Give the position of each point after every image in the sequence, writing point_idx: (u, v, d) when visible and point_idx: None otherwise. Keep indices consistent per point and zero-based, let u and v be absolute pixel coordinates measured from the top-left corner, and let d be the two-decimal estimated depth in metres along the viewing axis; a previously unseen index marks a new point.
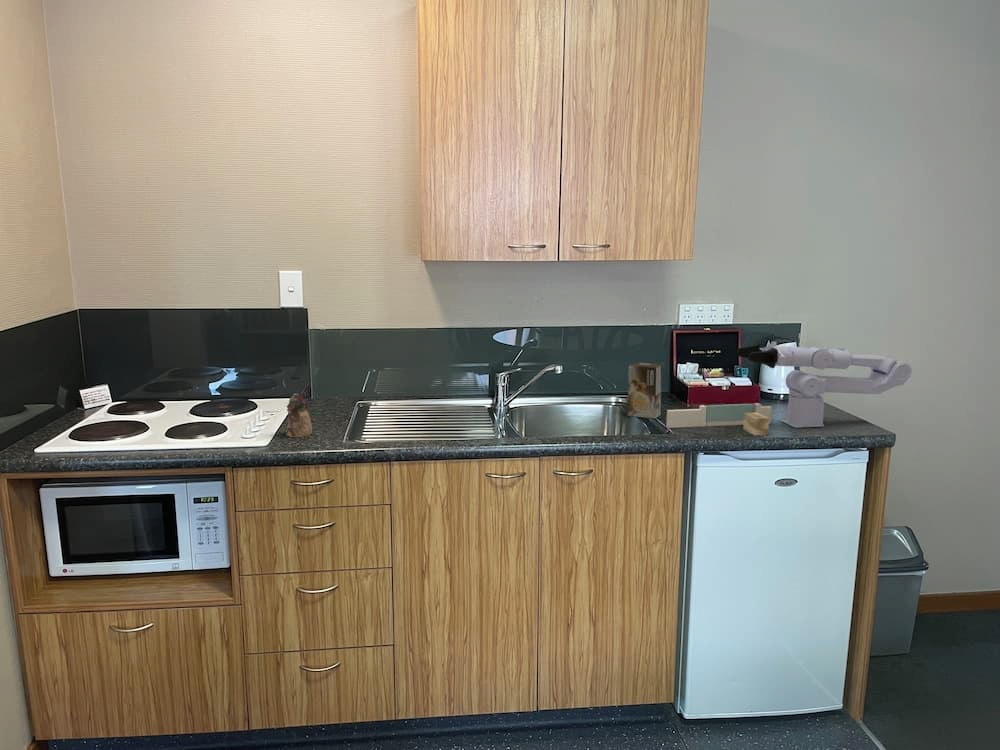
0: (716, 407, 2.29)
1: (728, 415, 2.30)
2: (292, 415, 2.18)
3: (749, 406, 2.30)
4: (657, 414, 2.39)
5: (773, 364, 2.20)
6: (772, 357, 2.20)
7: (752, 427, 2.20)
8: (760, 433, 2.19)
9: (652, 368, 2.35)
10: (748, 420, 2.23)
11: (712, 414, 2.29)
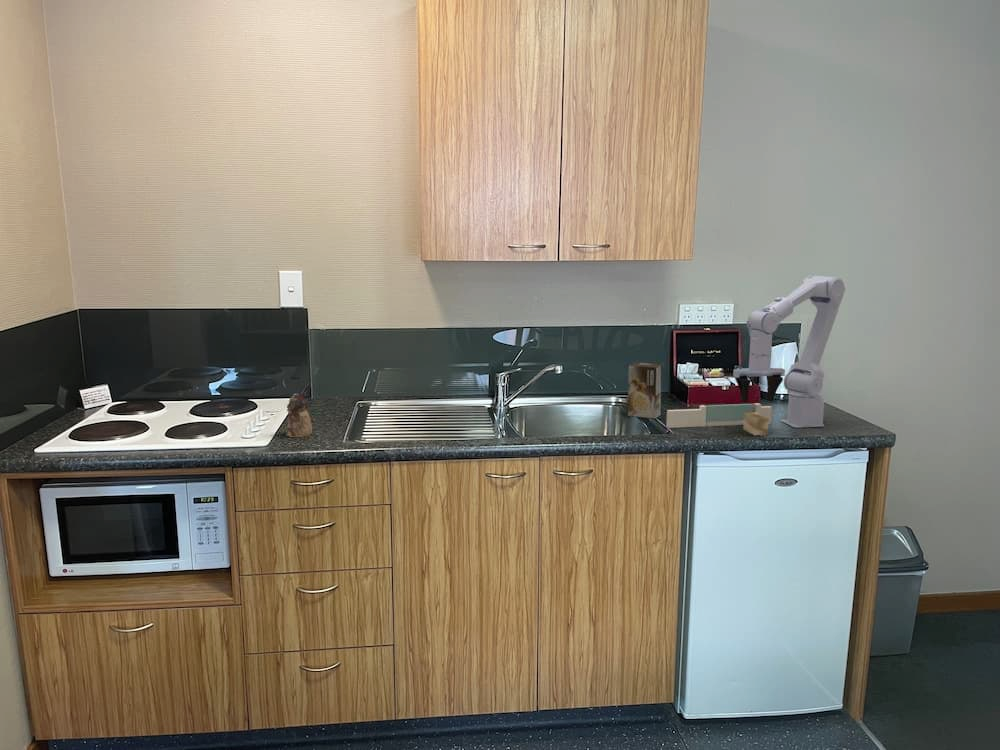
0: (716, 407, 2.29)
1: (728, 415, 2.30)
2: (292, 415, 2.18)
3: (749, 406, 2.30)
4: (657, 414, 2.39)
5: None
6: None
7: (752, 427, 2.20)
8: (760, 433, 2.19)
9: (652, 368, 2.35)
10: (748, 420, 2.23)
11: (712, 414, 2.29)
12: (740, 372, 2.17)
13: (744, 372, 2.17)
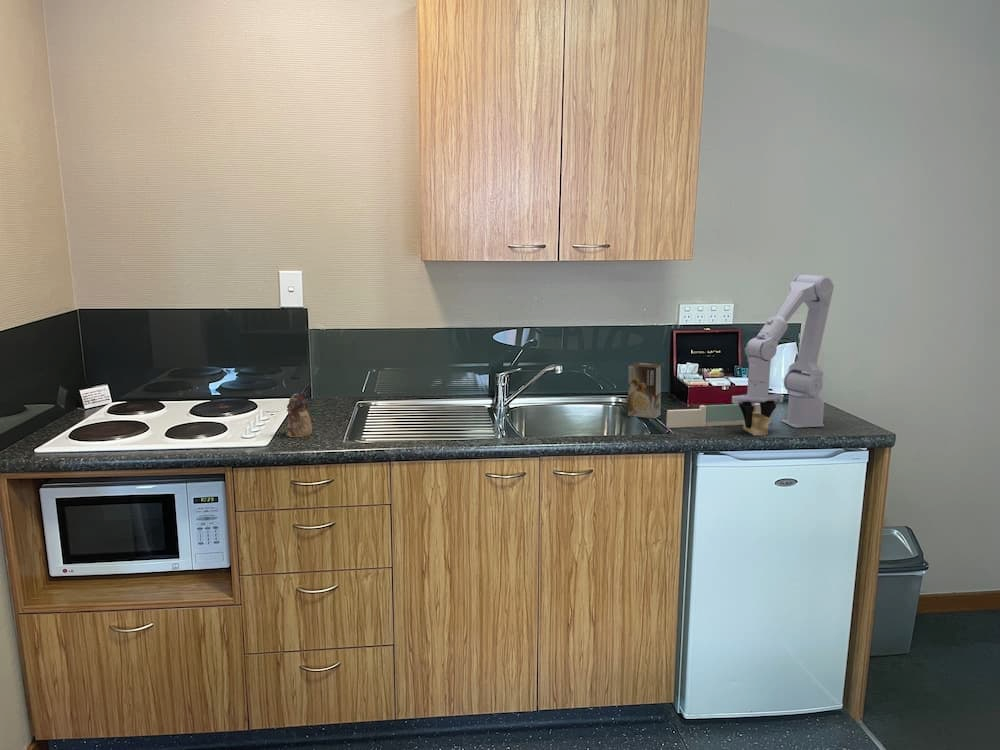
0: (716, 407, 2.29)
1: (728, 415, 2.30)
2: (292, 415, 2.18)
3: None
4: (657, 414, 2.39)
5: None
6: None
7: (752, 426, 2.20)
8: (760, 433, 2.19)
9: (652, 368, 2.35)
10: None
11: (712, 414, 2.29)
12: (738, 399, 2.19)
13: (742, 399, 2.19)
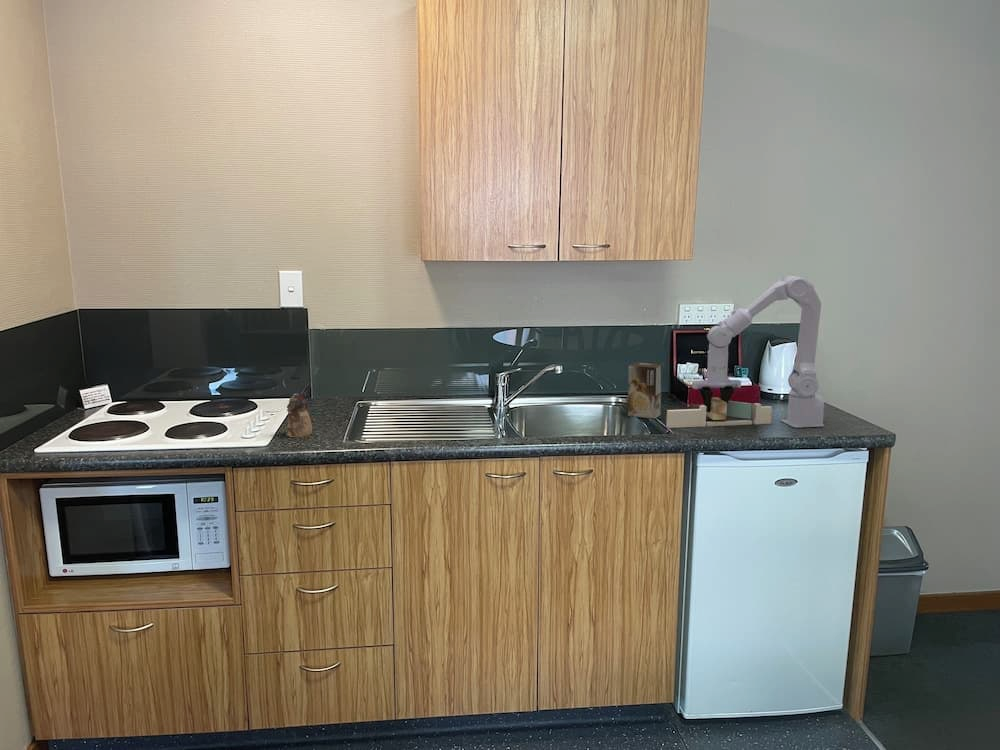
0: None
1: None
2: (292, 415, 2.18)
3: (747, 405, 2.31)
4: (657, 414, 2.39)
5: None
6: None
7: (711, 411, 2.30)
8: (718, 417, 2.29)
9: (652, 368, 2.35)
10: None
11: None
12: (698, 384, 2.29)
13: (702, 384, 2.29)
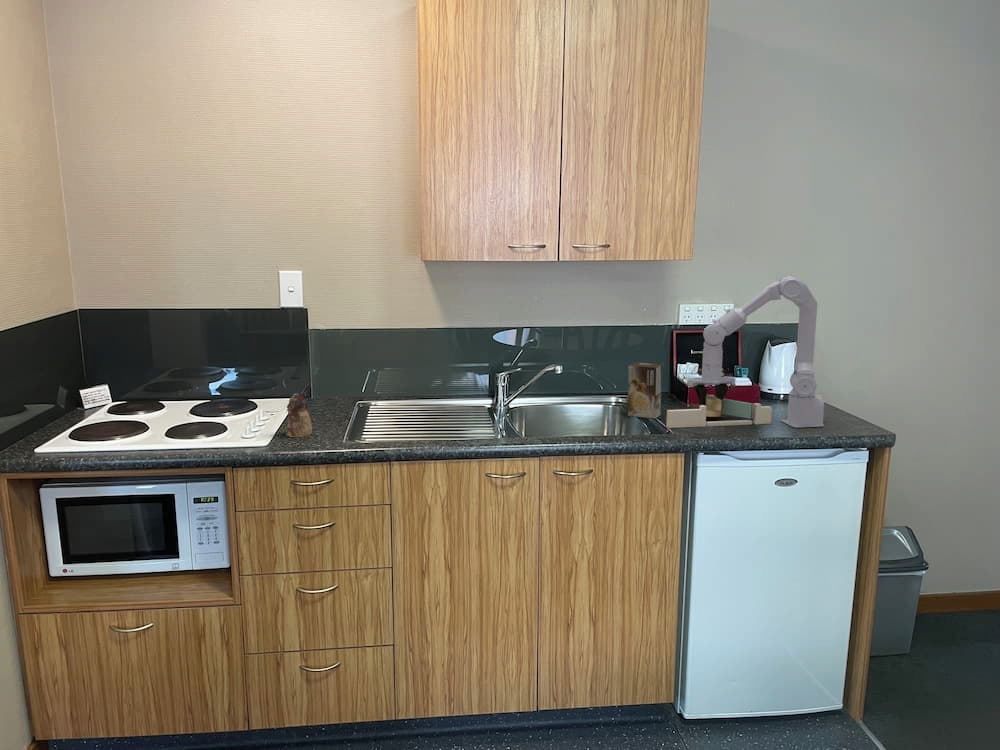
0: None
1: (727, 410, 2.37)
2: (292, 415, 2.18)
3: (747, 405, 2.32)
4: (657, 414, 2.39)
5: None
6: None
7: (706, 408, 2.34)
8: (713, 414, 2.33)
9: (652, 368, 2.35)
10: None
11: None
12: (693, 381, 2.33)
13: (697, 381, 2.33)
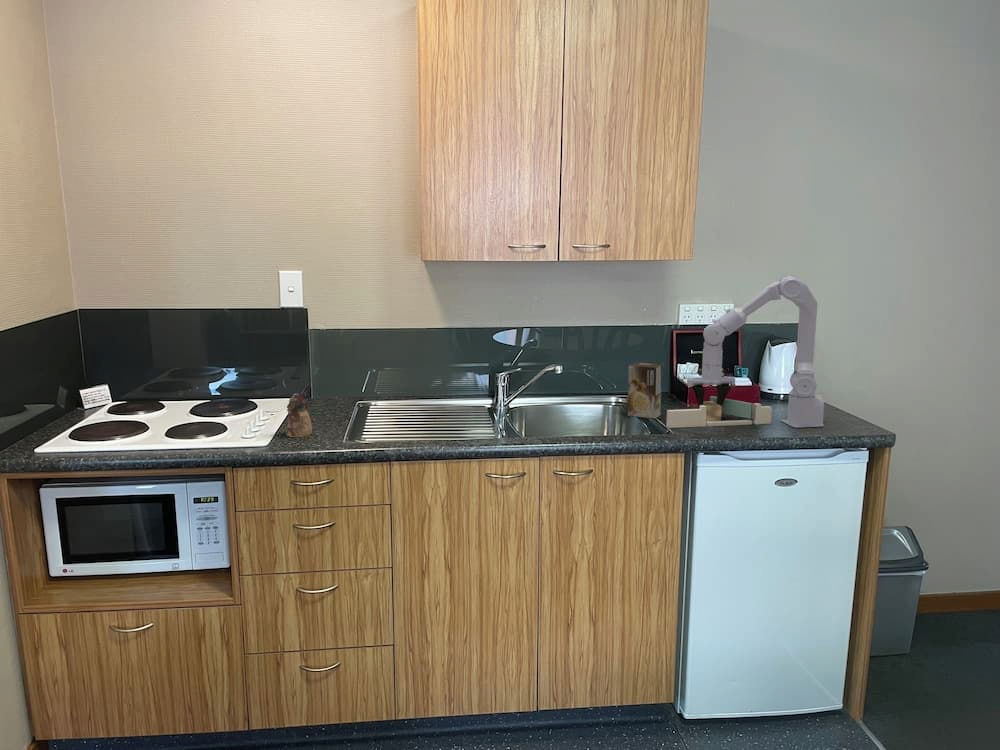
0: None
1: (728, 409, 2.37)
2: (292, 415, 2.18)
3: (748, 405, 2.32)
4: (657, 414, 2.39)
5: None
6: None
7: (706, 414, 2.34)
8: (713, 420, 2.34)
9: (652, 368, 2.35)
10: None
11: None
12: (693, 381, 2.33)
13: (697, 381, 2.33)
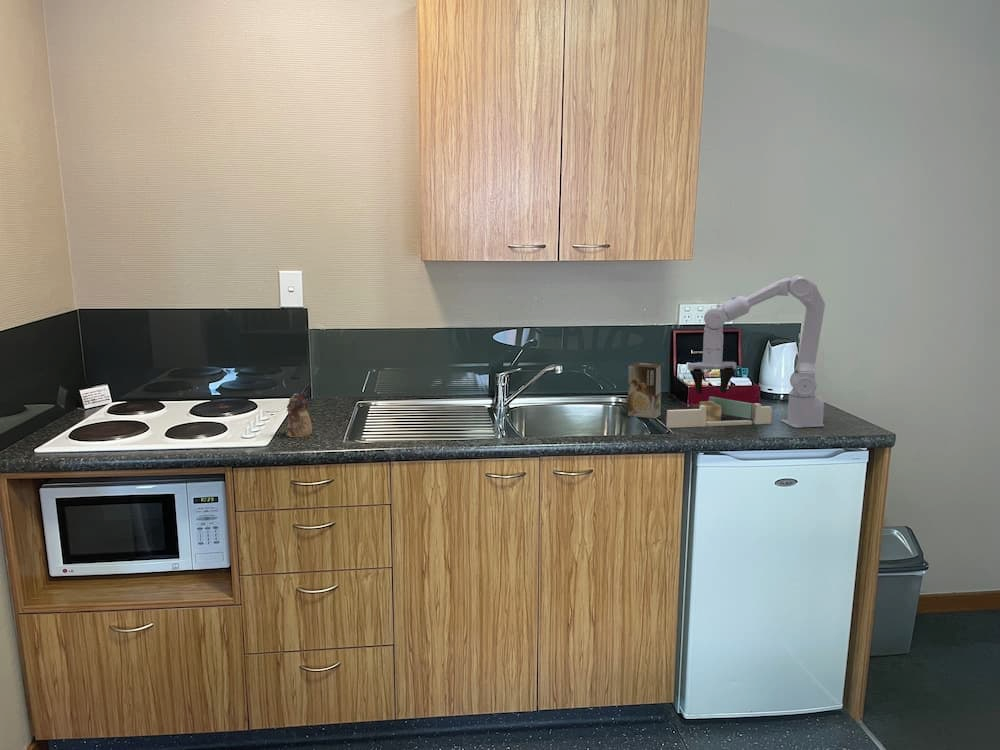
0: (716, 399, 2.39)
1: (727, 410, 2.37)
2: (292, 415, 2.18)
3: (747, 405, 2.32)
4: (657, 414, 2.39)
5: None
6: None
7: (706, 414, 2.34)
8: (713, 420, 2.34)
9: (652, 368, 2.35)
10: None
11: None
12: (694, 365, 2.32)
13: (697, 365, 2.32)
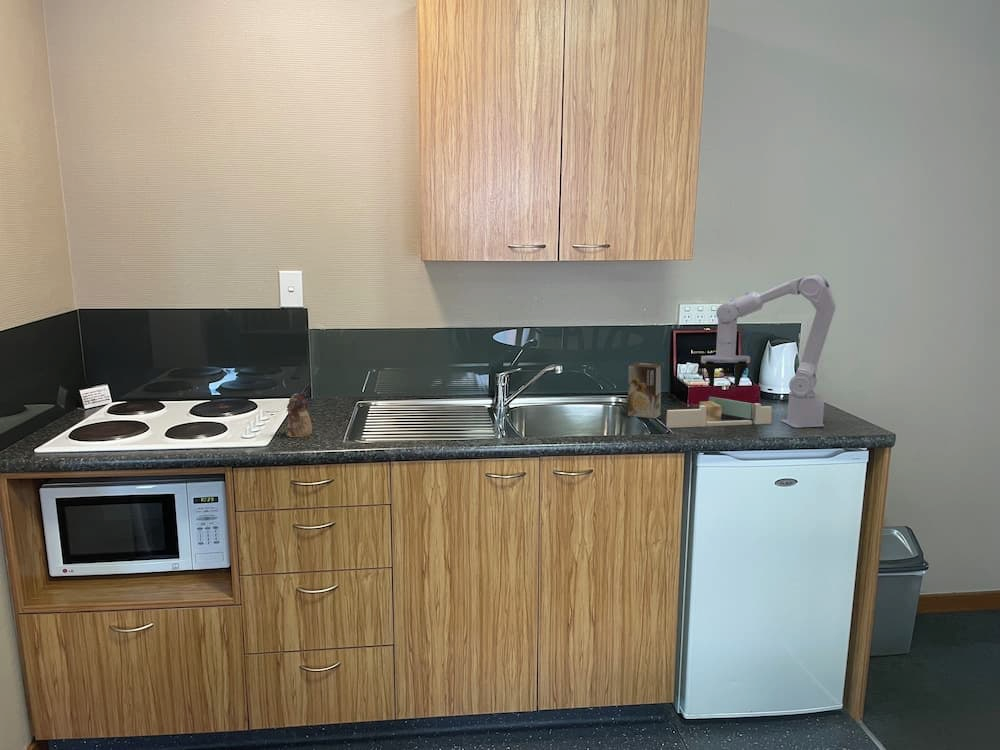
0: (716, 399, 2.39)
1: (727, 410, 2.37)
2: (292, 415, 2.18)
3: (747, 405, 2.32)
4: (657, 414, 2.39)
5: None
6: None
7: (706, 414, 2.34)
8: (713, 420, 2.34)
9: (652, 368, 2.35)
10: None
11: None
12: (706, 358, 2.37)
13: (710, 358, 2.37)
